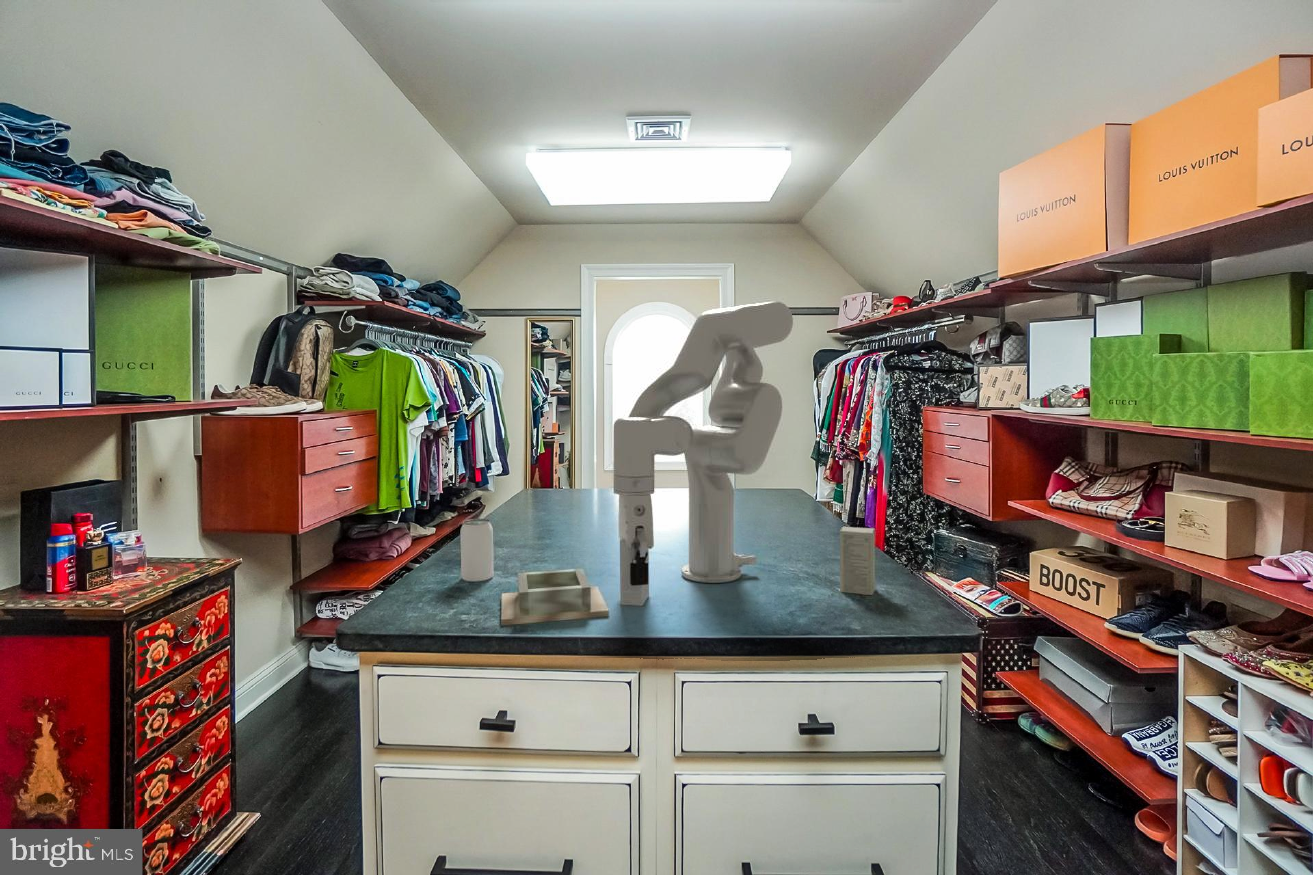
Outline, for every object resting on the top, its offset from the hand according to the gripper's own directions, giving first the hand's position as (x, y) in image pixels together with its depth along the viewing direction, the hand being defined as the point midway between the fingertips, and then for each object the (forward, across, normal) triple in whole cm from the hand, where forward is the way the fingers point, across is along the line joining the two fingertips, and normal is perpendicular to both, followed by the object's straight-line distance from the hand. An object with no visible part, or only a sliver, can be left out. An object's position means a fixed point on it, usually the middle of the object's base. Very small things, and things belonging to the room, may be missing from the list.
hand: (633, 577), depth 114 cm
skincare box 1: (+5, 0, 0) cm, 5 cm away
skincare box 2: (+4, -5, -43) cm, 44 cm away
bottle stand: (+5, 0, +15) cm, 15 cm away
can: (+5, +22, +29) cm, 37 cm away
